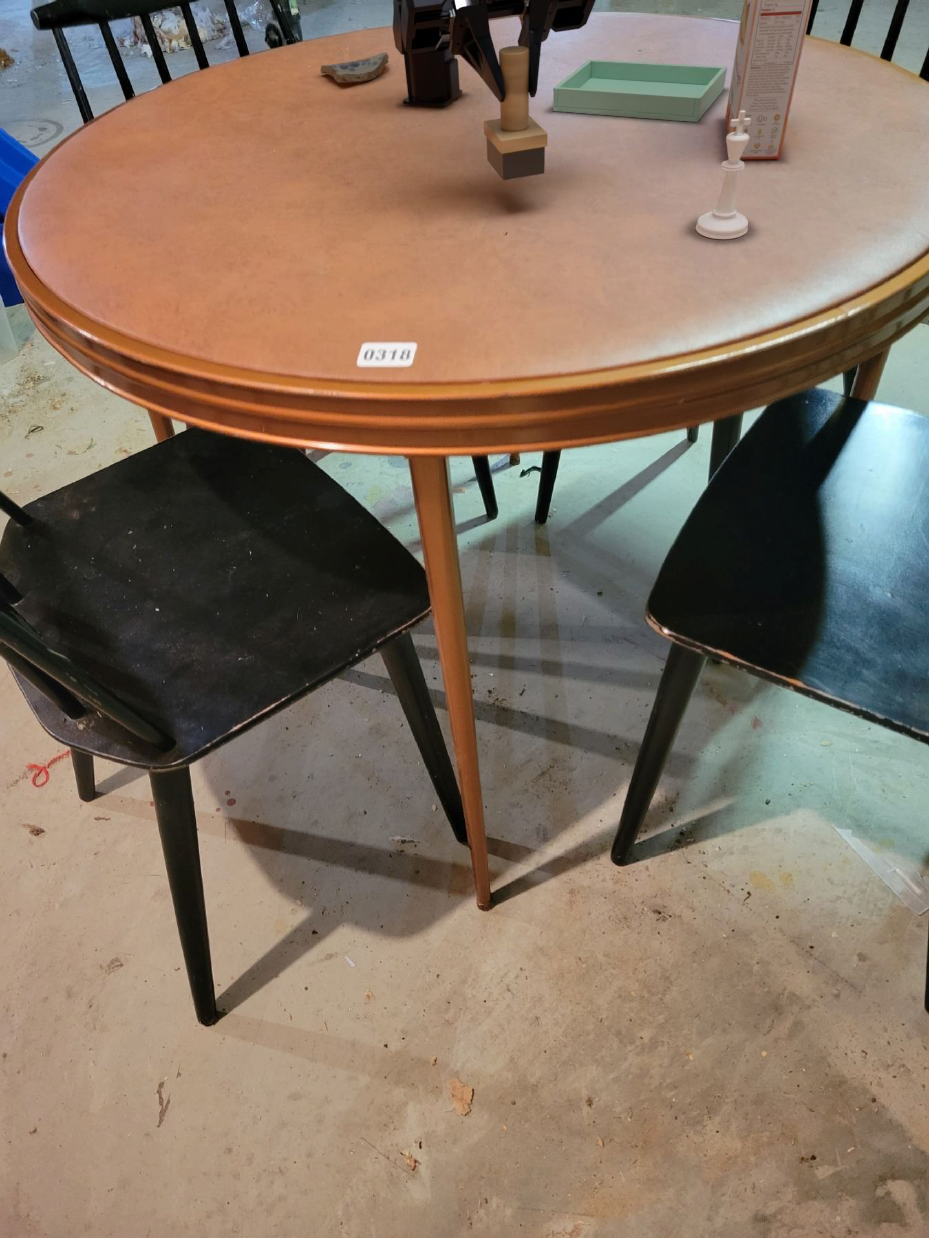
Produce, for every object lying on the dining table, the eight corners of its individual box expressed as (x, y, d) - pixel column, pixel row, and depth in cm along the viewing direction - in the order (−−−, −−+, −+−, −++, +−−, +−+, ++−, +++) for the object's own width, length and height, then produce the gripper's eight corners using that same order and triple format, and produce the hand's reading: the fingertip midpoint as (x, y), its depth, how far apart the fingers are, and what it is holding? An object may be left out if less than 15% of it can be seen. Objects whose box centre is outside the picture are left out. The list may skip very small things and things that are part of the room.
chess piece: (689, 221, 77) (706, 105, 70) (738, 216, 77) (760, 100, 70) (703, 242, 74) (723, 123, 66) (754, 236, 74) (780, 117, 66)
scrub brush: (484, 160, 82) (480, 45, 74) (527, 153, 83) (527, 38, 75) (501, 181, 78) (498, 62, 70) (547, 174, 78) (548, 54, 71)
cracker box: (721, 120, 96) (758, -110, 80) (772, 119, 95) (820, -114, 79) (724, 161, 87) (766, -89, 71) (780, 161, 86) (835, -93, 70)
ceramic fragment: (330, 77, 113) (316, 50, 119) (334, 101, 116) (319, 73, 121) (400, 65, 115) (383, 39, 120) (402, 88, 118) (385, 62, 123)
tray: (552, 111, 102) (553, 88, 100) (587, 81, 110) (588, 59, 108) (696, 122, 96) (700, 98, 94) (723, 90, 103) (727, 67, 101)
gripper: (389, -138, 64) (432, 55, 65) (601, -163, 66) (638, 24, 68) (385, -32, 75) (422, 131, 76) (567, -57, 77) (599, 102, 79)
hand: (518, 97), depth 74 cm, fingers closed on scrub brush, 3 cm apart
